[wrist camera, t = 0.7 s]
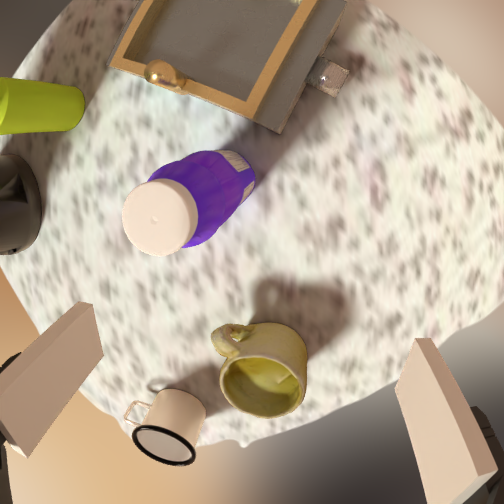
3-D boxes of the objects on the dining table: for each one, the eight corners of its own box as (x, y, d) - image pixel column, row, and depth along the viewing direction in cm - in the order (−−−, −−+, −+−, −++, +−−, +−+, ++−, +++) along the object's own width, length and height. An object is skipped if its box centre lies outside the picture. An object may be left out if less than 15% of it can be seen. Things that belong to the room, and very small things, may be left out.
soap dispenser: (89, 77, 29) (-42, 55, 11) (82, 130, 32) (-54, 142, 13) (56, 81, 30) (-67, 71, 11) (49, 131, 32) (-77, 146, 13)
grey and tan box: (132, 78, 29) (65, 57, 18) (191, -26, 24) (150, -79, 13) (305, 151, 30) (312, 153, 19) (366, 35, 25) (399, -14, 13)
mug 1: (213, 395, 42) (198, 442, 33) (206, 431, 45) (192, 473, 37) (137, 371, 43) (112, 411, 34) (139, 409, 46) (118, 446, 37)
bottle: (231, 138, 30) (162, 132, 14) (268, 180, 31) (239, 217, 15) (182, 185, 33) (84, 226, 16) (217, 224, 33) (147, 299, 17)
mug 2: (336, 371, 36) (307, 426, 27) (269, 381, 41) (232, 426, 33) (297, 283, 35) (255, 324, 27) (231, 305, 41) (181, 341, 32)
